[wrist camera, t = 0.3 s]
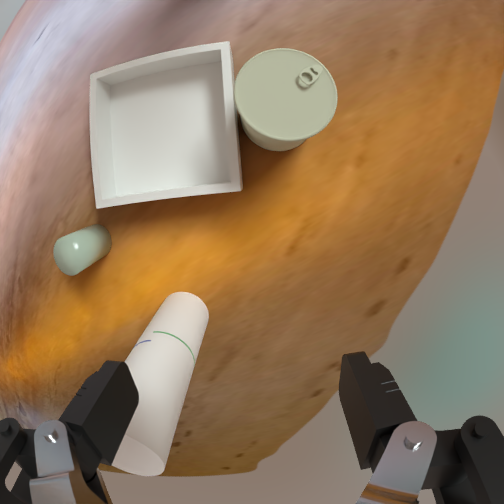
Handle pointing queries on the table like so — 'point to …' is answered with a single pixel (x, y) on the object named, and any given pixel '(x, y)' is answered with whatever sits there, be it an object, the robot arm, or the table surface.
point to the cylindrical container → (161, 382)
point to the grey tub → (165, 127)
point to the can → (284, 98)
